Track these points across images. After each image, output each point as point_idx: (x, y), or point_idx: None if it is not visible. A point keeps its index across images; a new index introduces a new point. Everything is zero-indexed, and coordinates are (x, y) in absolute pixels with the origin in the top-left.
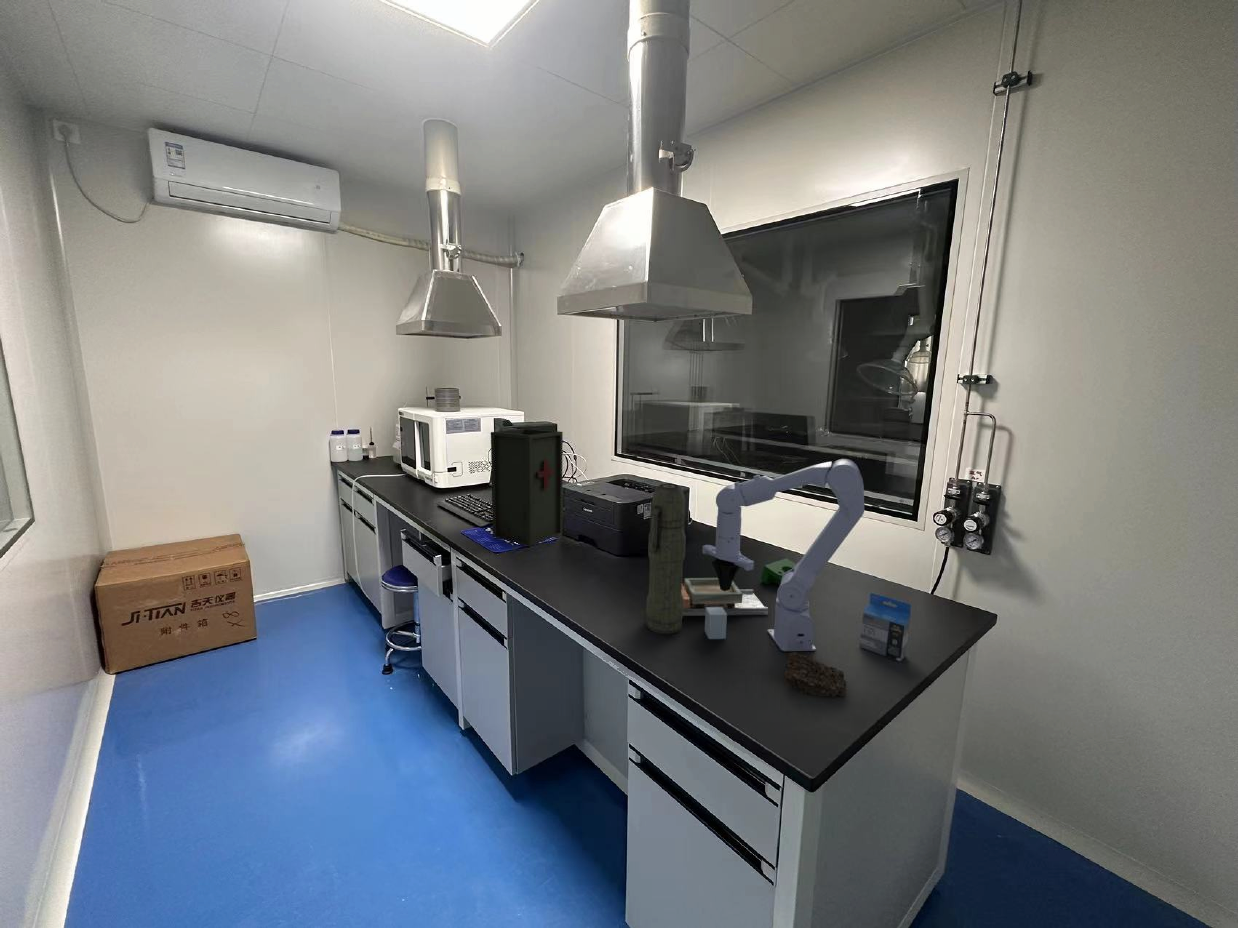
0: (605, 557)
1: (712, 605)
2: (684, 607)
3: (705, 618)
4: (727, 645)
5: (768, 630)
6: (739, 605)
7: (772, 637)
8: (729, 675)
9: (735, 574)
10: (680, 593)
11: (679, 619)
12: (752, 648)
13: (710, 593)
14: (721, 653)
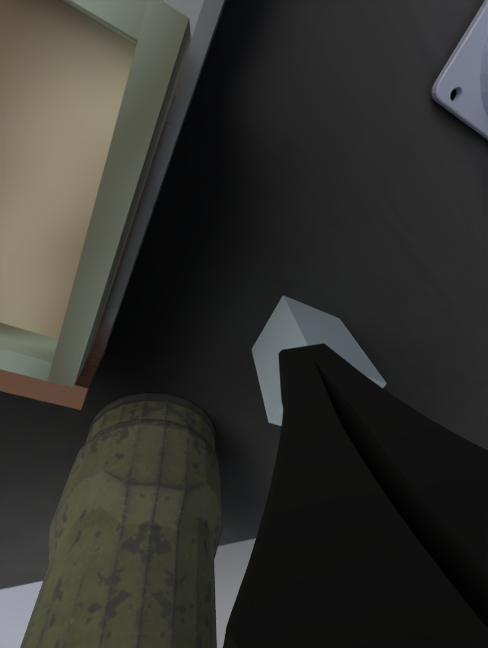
0: None
1: None
2: (94, 377)
3: (261, 383)
4: (375, 339)
5: (443, 97)
6: None
7: (485, 136)
8: (469, 416)
9: (456, 435)
10: (197, 560)
11: (214, 455)
12: (449, 277)
13: (87, 286)
14: (392, 380)
